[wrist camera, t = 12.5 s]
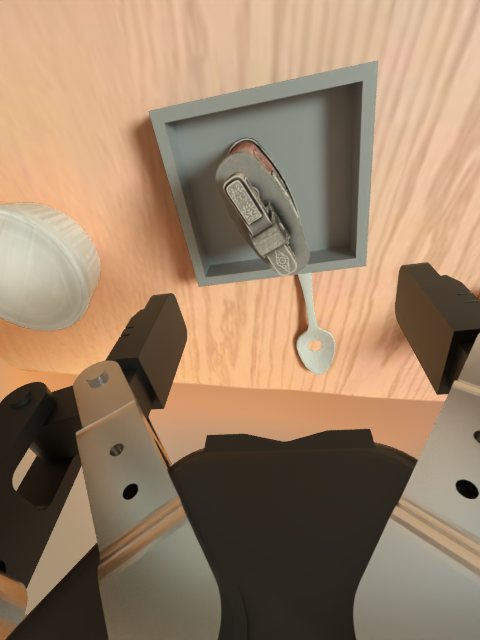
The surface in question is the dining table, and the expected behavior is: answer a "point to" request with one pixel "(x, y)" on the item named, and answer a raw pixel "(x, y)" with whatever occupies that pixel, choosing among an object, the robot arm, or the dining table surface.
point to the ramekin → (44, 267)
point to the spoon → (314, 335)
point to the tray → (291, 158)
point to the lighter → (262, 206)
